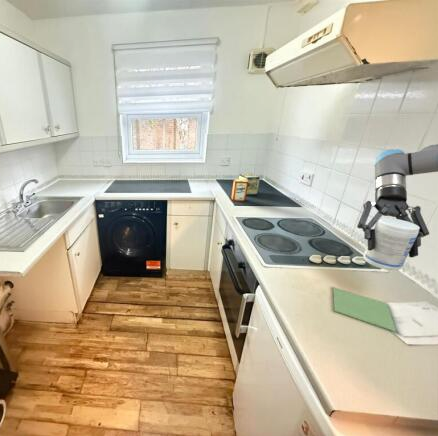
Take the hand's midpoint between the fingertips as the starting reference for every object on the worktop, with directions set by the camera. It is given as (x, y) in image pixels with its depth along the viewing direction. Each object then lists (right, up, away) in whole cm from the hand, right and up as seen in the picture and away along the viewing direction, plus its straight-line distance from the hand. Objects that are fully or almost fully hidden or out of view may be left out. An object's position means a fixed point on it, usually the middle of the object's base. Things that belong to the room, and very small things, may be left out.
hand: (391, 252), depth 74 cm
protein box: (+9, +32, +131) cm, 135 cm away
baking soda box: (-5, +25, +114) cm, 117 cm away
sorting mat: (-4, -20, +7) cm, 21 cm away
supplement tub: (+1, -5, +5) cm, 7 cm away
